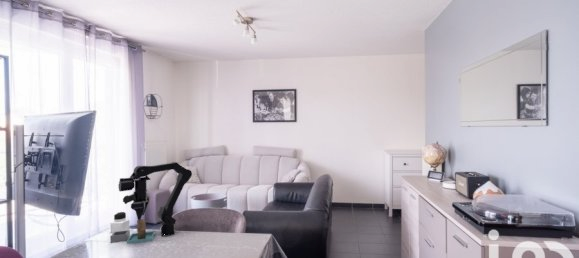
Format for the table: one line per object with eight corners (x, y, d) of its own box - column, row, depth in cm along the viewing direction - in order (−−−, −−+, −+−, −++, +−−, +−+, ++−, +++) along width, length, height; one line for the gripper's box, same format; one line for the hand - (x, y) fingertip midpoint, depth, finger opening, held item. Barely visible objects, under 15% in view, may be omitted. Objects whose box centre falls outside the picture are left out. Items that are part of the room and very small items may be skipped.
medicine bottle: (129, 231, 174) (129, 211, 174) (121, 235, 167) (121, 214, 167) (118, 230, 174) (118, 211, 175) (110, 235, 167) (110, 214, 167)
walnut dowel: (146, 236, 159) (146, 218, 159) (145, 239, 155) (144, 220, 156) (138, 237, 158) (138, 219, 158) (136, 240, 154) (136, 221, 154)
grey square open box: (129, 238, 161) (129, 230, 161) (126, 242, 154) (126, 234, 154) (114, 239, 159) (114, 231, 159) (110, 244, 152) (110, 236, 152)
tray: (155, 235, 164) (155, 231, 164) (151, 242, 153) (151, 238, 153) (132, 238, 161) (131, 233, 161) (126, 246, 149) (126, 241, 149)
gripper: (128, 187, 164) (128, 214, 163) (119, 193, 146) (119, 223, 146) (149, 185, 167) (150, 212, 167) (143, 191, 149) (144, 221, 149)
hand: (141, 217), depth 157 cm, fingers open, 9 cm apart
